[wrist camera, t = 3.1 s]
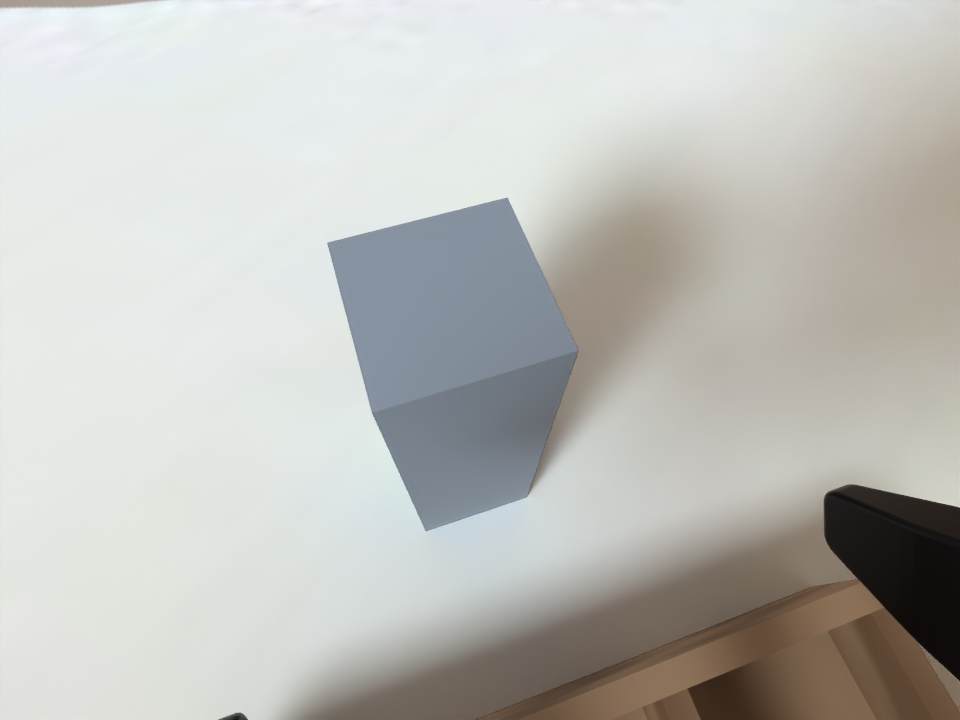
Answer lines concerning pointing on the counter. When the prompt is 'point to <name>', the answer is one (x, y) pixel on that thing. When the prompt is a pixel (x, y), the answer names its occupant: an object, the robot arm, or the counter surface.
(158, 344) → the counter surface
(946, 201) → the counter surface
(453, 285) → the plug block
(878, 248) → the counter surface
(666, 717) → the slot organizer
